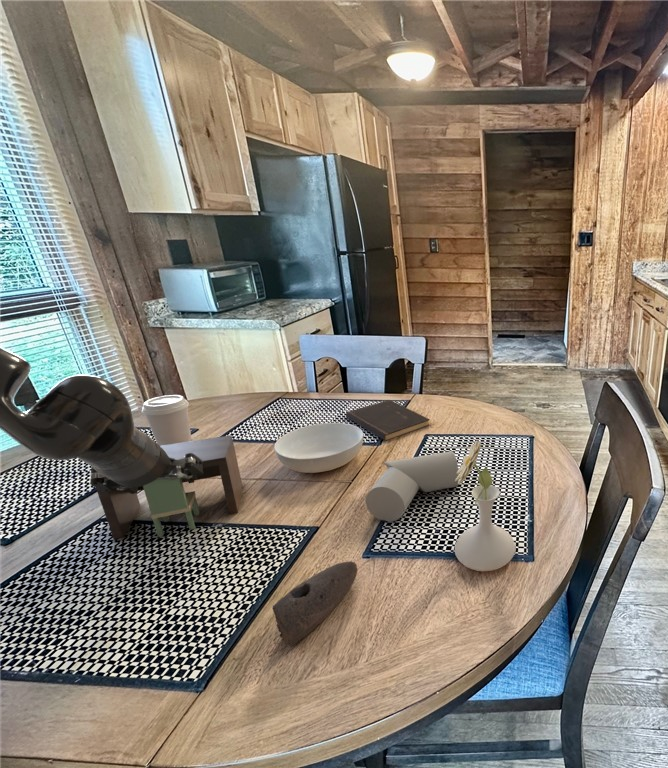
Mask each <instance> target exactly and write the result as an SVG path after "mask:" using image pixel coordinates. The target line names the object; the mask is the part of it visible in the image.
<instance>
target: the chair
mask: <svg viewBox="0 0 668 768" xmlns="http://www.w3.org/2000/svg"><path fill="white" fill-rule="evenodd" d="M169 475H172V472H171V473H170V474H169ZM143 488H144V490H143V491H144V495H145V498H146V501H147V505H148V507H149V511H150V515H149V516H150V519H151V520H152V522H153V525H154V528H155V532H156V536H157V538H160V537H164V535H165V532H164V529H163V526H162V522H161V519H160V518H162V519H163V523H166V522H170V520H171V517H170V516H172V515H178V514H183V513H185V518H186V521H187V525H188V528H189V530H190V531H191V530H195V529H196V524H195V520H194V516H199V515H200V508H199V505H198V502H197V497H196V496H197V493H196V491H195V490H193V491H187V492H186V491H185V488H184V484H183V483H182V479H181V478H178V479H176V480H163V479H161V480H154V481H153V482H151V483H149V484H146V485H143ZM192 511H193V512H192Z"/></svg>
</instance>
